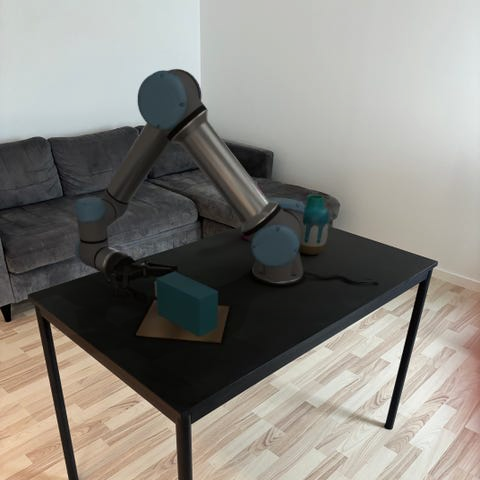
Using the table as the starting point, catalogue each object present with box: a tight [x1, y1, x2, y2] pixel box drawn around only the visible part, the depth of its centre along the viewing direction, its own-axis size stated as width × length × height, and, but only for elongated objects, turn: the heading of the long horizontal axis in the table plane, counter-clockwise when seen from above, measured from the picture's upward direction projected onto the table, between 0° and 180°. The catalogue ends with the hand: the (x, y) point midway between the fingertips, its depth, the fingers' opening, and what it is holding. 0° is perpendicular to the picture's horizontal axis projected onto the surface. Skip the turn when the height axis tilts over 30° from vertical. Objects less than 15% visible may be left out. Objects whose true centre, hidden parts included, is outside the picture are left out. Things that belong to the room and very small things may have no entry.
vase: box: [299, 193, 330, 256], centre depth 156 cm, size 11×11×19 cm
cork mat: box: [135, 299, 230, 344], centre depth 119 cm, size 20×17×1 cm
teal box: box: [154, 272, 219, 337], centre depth 116 cm, size 18×6×10 cm, turn 48°
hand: (167, 290), depth 119 cm, fingers open, 13 cm apart
